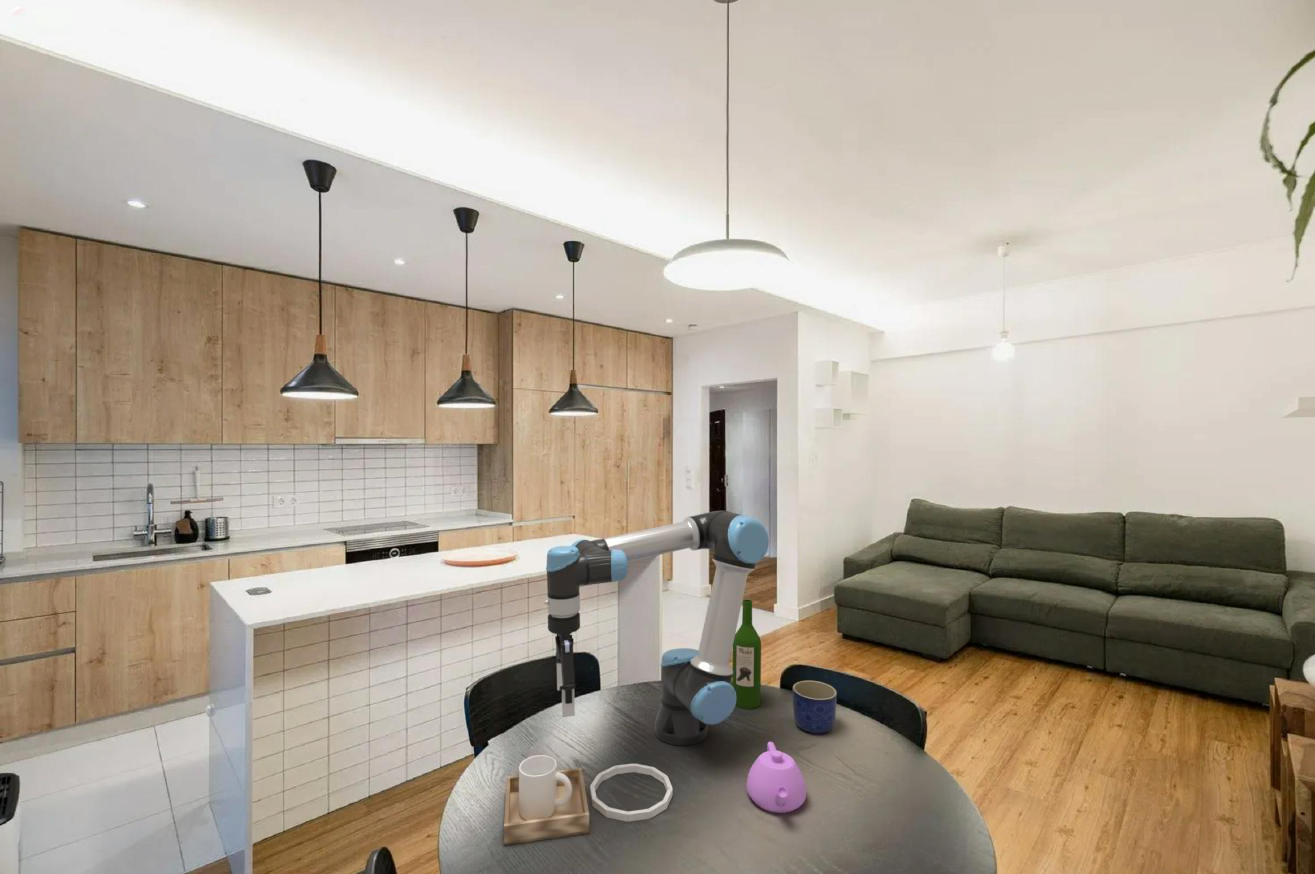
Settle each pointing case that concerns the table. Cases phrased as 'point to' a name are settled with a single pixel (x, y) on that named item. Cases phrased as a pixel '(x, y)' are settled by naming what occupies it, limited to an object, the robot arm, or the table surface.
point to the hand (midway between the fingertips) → (565, 701)
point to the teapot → (776, 782)
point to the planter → (814, 706)
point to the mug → (540, 787)
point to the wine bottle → (747, 662)
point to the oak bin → (559, 824)
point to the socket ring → (638, 813)
